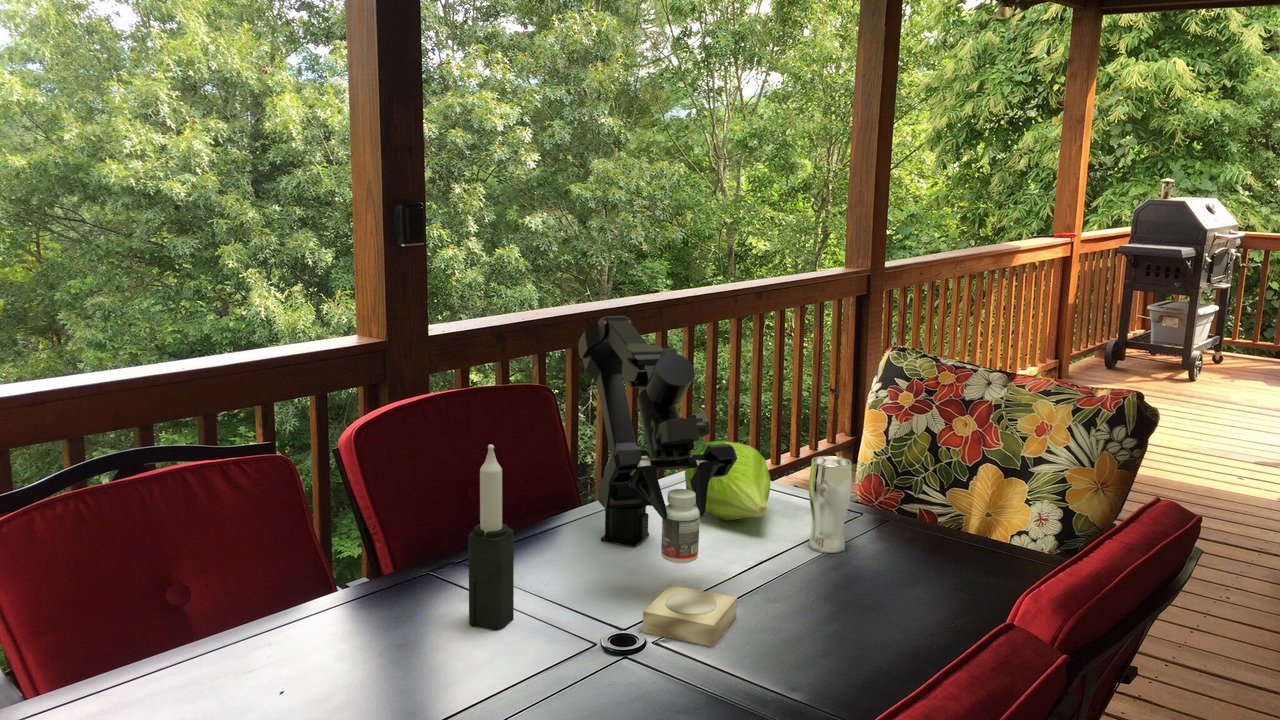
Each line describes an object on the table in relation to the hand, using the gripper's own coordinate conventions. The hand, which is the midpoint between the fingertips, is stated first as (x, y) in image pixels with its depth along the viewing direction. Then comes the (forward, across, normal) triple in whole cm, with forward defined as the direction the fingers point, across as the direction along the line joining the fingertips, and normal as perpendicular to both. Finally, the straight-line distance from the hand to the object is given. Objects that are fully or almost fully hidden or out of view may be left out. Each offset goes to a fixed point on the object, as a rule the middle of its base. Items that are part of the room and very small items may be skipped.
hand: (684, 516), depth 142 cm
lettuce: (-13, +22, +33) cm, 42 cm away
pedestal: (+14, -1, +4) cm, 15 cm away
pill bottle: (+4, 0, +6) cm, 7 cm away
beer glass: (-1, +32, +20) cm, 38 cm away
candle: (+9, -27, +10) cm, 30 cm away
